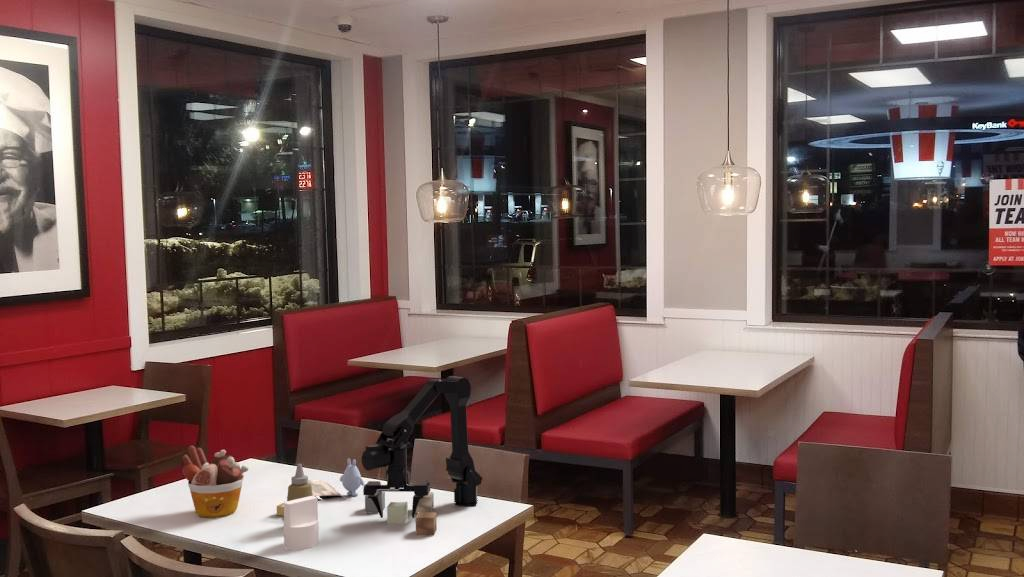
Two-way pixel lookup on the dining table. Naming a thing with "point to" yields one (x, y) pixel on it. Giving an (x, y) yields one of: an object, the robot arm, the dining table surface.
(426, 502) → the cream block
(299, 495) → the squeeze bottle
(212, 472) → the bucket of meat
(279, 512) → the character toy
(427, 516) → the walnut block
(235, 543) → the dining table surface
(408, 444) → the robot arm
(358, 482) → the toy figure
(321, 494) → the newspaper
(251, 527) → the dining table surface
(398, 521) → the sage block
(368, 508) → the slate block
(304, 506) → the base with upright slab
